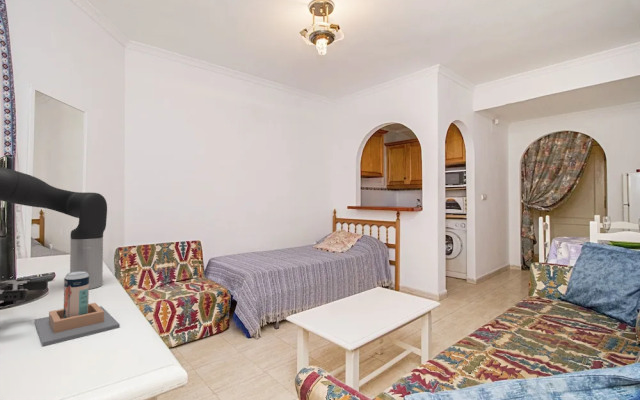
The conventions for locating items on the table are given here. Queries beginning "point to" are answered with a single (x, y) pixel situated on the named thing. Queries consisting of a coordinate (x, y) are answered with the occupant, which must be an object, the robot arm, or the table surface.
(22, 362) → the table surface
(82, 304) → the beer can
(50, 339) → the socket plate
